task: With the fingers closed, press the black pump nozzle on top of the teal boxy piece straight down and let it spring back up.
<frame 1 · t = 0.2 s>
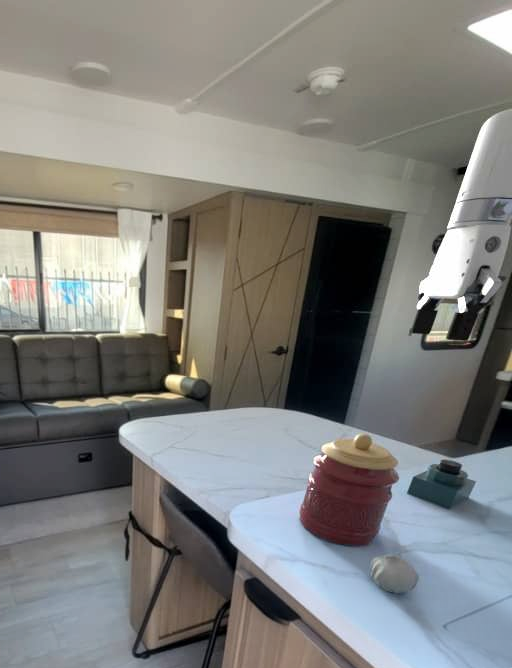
hand: (437, 336, 69), 32 cm above the table, tool pointing down, fingers open, 9 cm apart
kitchen canister: (335, 527, 73), on the table
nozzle: (449, 467, 84), point 7 cm above the table, slide at 0.1 cm
teal boxy piece: (437, 495, 87), on the table
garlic: (387, 587, 59), on the table
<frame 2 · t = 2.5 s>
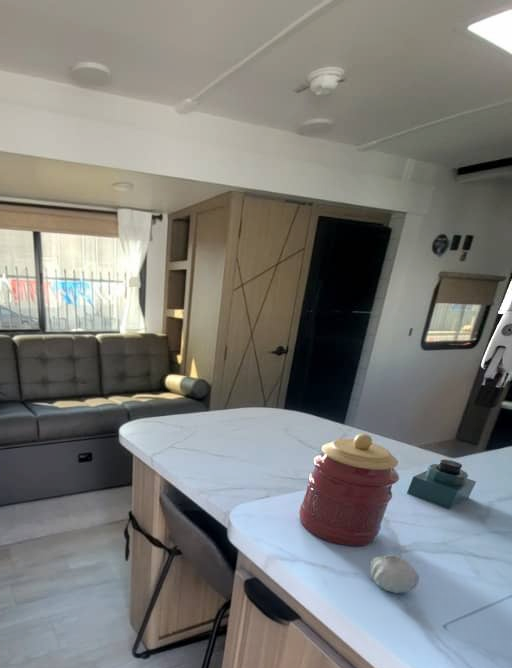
hand: (484, 405, 81), 19 cm above the table, tool pointing down, fingers closed
nothing on the table moved.
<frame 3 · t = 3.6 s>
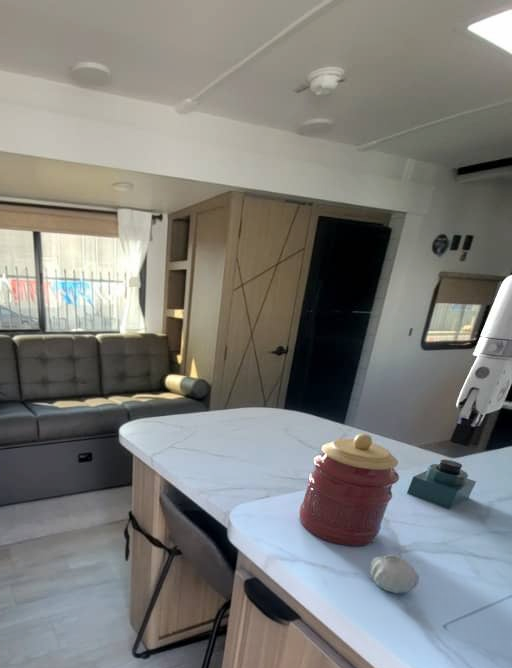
hand: (460, 443, 82), 12 cm above the table, tool pointing down, fingers closed
nothing on the table moved.
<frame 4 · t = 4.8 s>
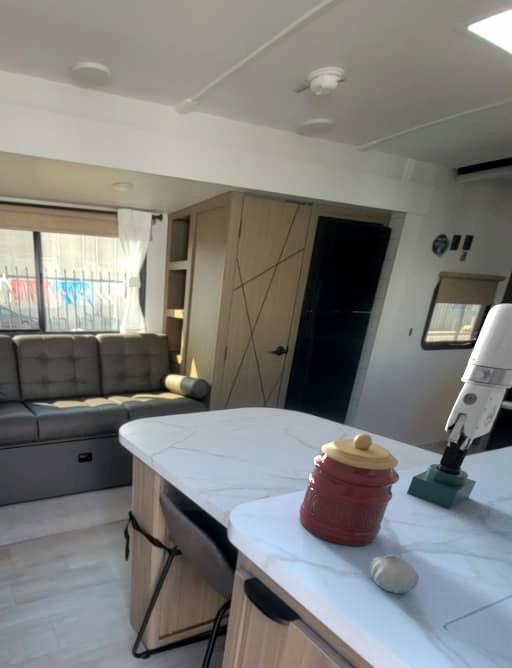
hand: (449, 465, 84), 7 cm above the table, tool pointing down, fingers closed
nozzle: (448, 470, 84), point 6 cm above the table, slide at -0.5 cm, touching gripper
everything else where it was.
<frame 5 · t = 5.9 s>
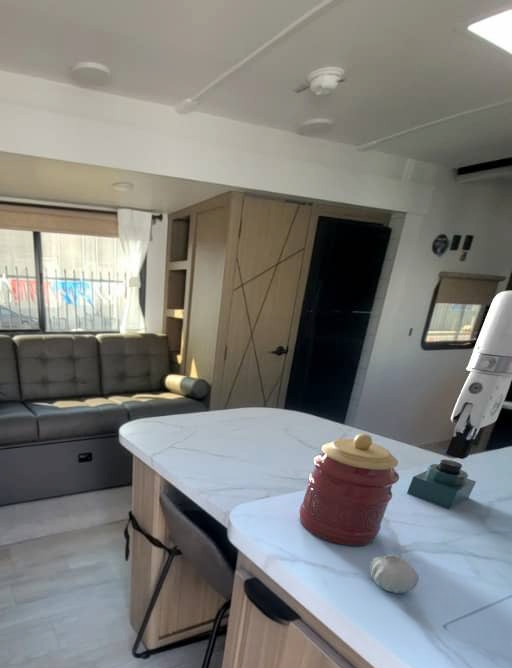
hand: (456, 456, 83), 9 cm above the table, tool pointing down, fingers closed
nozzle: (449, 467, 84), point 7 cm above the table, slide at 0.1 cm
everything else where it was.
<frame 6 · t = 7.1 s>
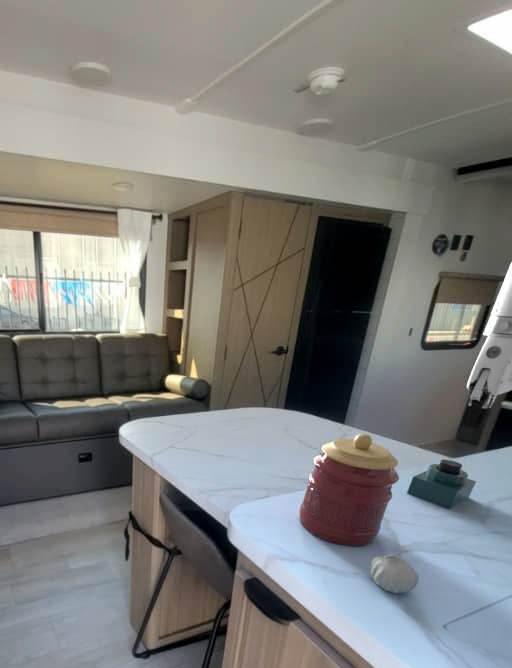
hand: (471, 426, 80), 16 cm above the table, tool pointing down, fingers closed
nothing on the table moved.
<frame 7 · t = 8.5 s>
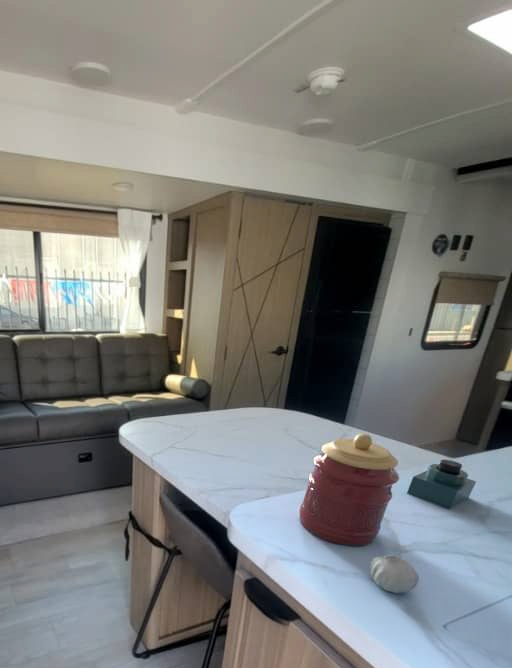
nothing on the table moved.
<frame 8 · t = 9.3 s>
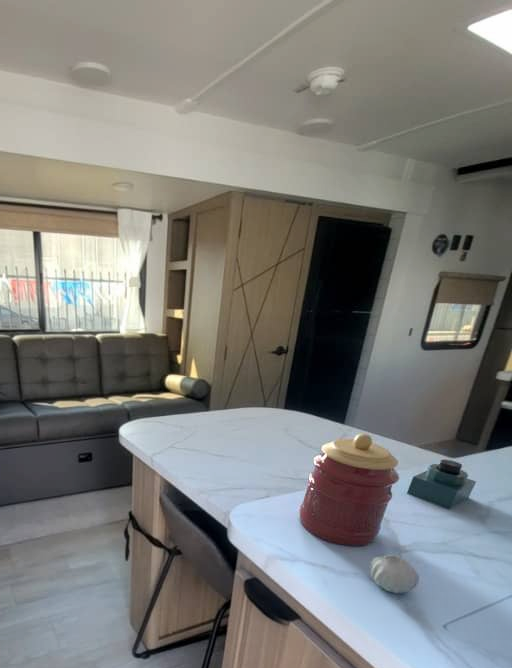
nothing on the table moved.
at the end: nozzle pushed in 1.3 cm at the most during the clip, back to where it started at the end; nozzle slide at 0.1 cm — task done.
